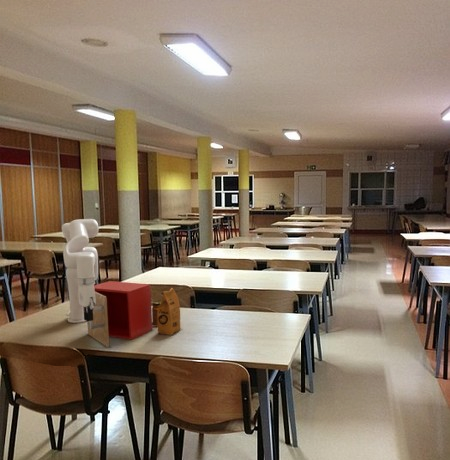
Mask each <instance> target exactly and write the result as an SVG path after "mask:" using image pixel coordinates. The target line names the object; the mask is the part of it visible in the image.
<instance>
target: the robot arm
mask: <svg viewBox="0 0 450 460" xmlns="http://www.w3.org/2000/svg"><path fill="white" fill-rule="evenodd" d="M99 229H100V227H99V224H98V221H97V220H96V219H94V218H82V219H74V220H72V221H70V222H66V223H63V224H62V225H61V233H62V235H63V237H64V238H65V240H66V244H65V246H64V248H63V254H62V255H63V262H64V266H65V267H66V269H65V276H66V281H67V288H68V296H69V297H68V299H69V311H67V313H66V314H65V316H67V317H68V318H67V322H68V323H71V324H80V323H81V324H82V323H87V321H92V320H93V309H94V306H95V304H96V299H95V289H94V285H96V280H98V278H99V254H98V250H97V248H96V247H94V246H88V245H89V243H90V239H92V238H95V237H96V236H98V235H99V231H100V230H99ZM89 307H90V308H89Z"/></svg>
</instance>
